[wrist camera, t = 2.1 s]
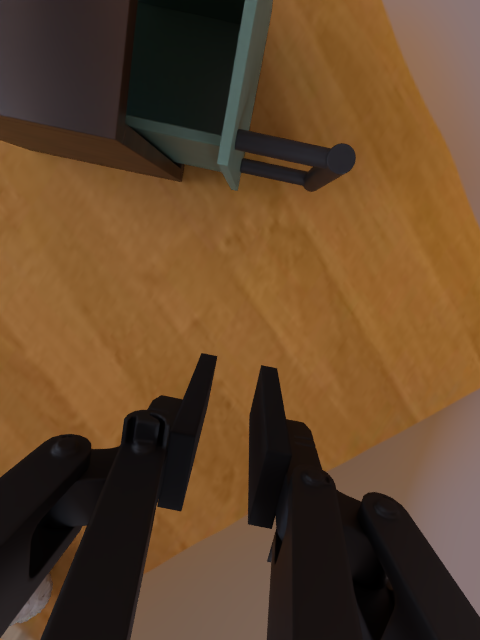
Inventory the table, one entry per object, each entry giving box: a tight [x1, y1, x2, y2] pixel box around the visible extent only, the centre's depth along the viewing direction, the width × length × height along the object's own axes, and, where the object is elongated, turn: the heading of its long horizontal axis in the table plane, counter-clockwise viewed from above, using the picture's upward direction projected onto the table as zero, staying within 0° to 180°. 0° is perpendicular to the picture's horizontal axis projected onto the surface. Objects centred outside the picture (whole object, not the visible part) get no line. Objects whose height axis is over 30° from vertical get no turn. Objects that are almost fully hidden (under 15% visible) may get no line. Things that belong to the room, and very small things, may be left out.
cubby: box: [0, 0, 184, 182], centre depth 22 cm, size 14×14×16 cm
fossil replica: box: [9, 573, 53, 626], centre depth 40 cm, size 12×8×10 cm
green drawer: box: [125, 0, 356, 192], centre depth 23 cm, size 20×14×13 cm
